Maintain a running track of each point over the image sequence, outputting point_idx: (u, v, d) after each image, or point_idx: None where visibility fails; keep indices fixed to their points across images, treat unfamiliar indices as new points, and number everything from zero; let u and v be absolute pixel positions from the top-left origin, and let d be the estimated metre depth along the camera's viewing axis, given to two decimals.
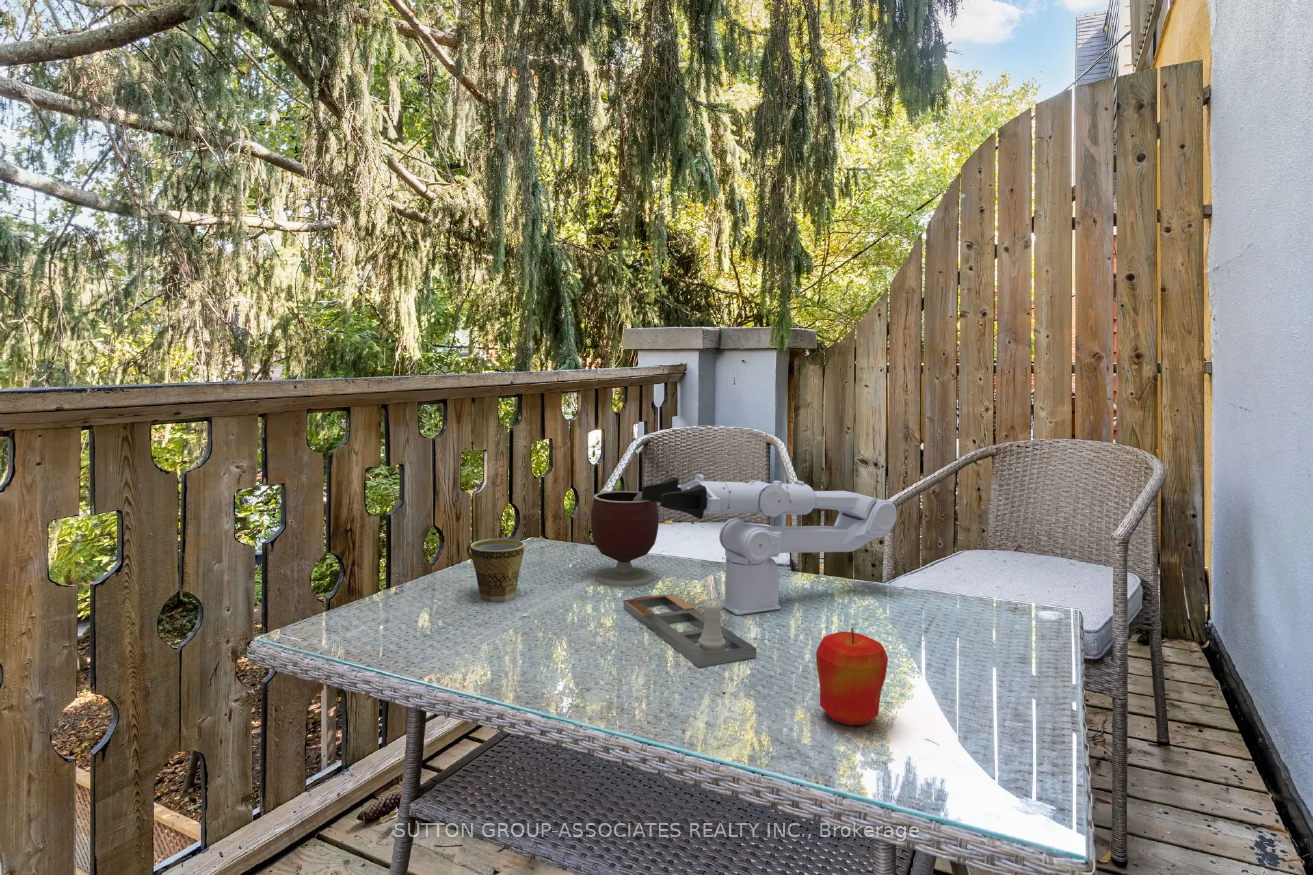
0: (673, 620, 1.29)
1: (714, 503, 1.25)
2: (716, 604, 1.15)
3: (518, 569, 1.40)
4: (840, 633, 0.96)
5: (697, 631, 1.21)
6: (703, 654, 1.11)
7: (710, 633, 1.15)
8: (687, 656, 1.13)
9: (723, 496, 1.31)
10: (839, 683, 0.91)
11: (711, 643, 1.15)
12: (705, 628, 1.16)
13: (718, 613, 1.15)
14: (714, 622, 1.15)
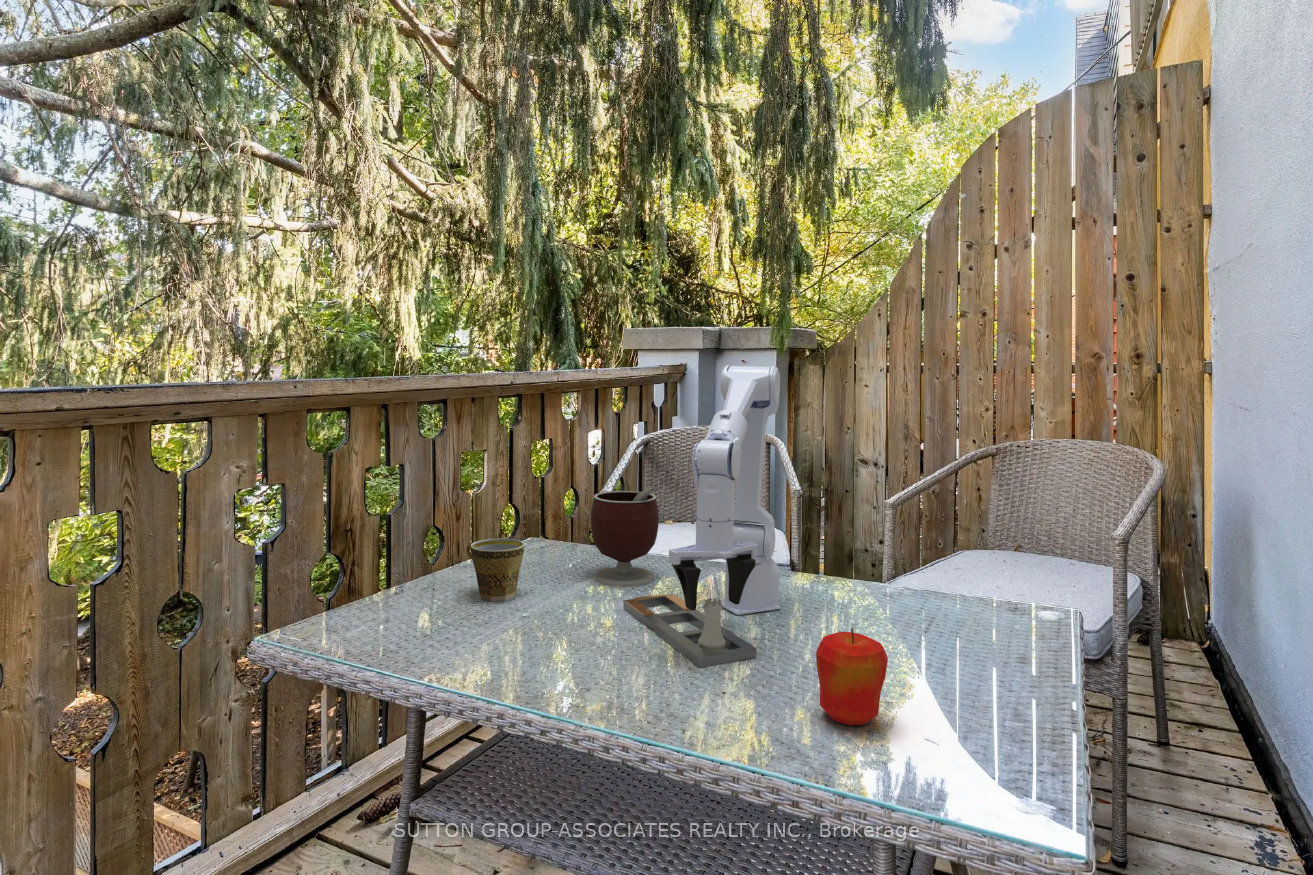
0: (673, 620, 1.29)
1: None
2: (716, 604, 1.15)
3: (518, 569, 1.40)
4: (840, 633, 0.96)
5: (697, 631, 1.21)
6: (703, 654, 1.11)
7: (710, 633, 1.15)
8: (687, 656, 1.13)
9: None
10: (839, 683, 0.91)
11: (711, 643, 1.15)
12: (705, 628, 1.16)
13: (718, 613, 1.15)
14: (714, 622, 1.15)
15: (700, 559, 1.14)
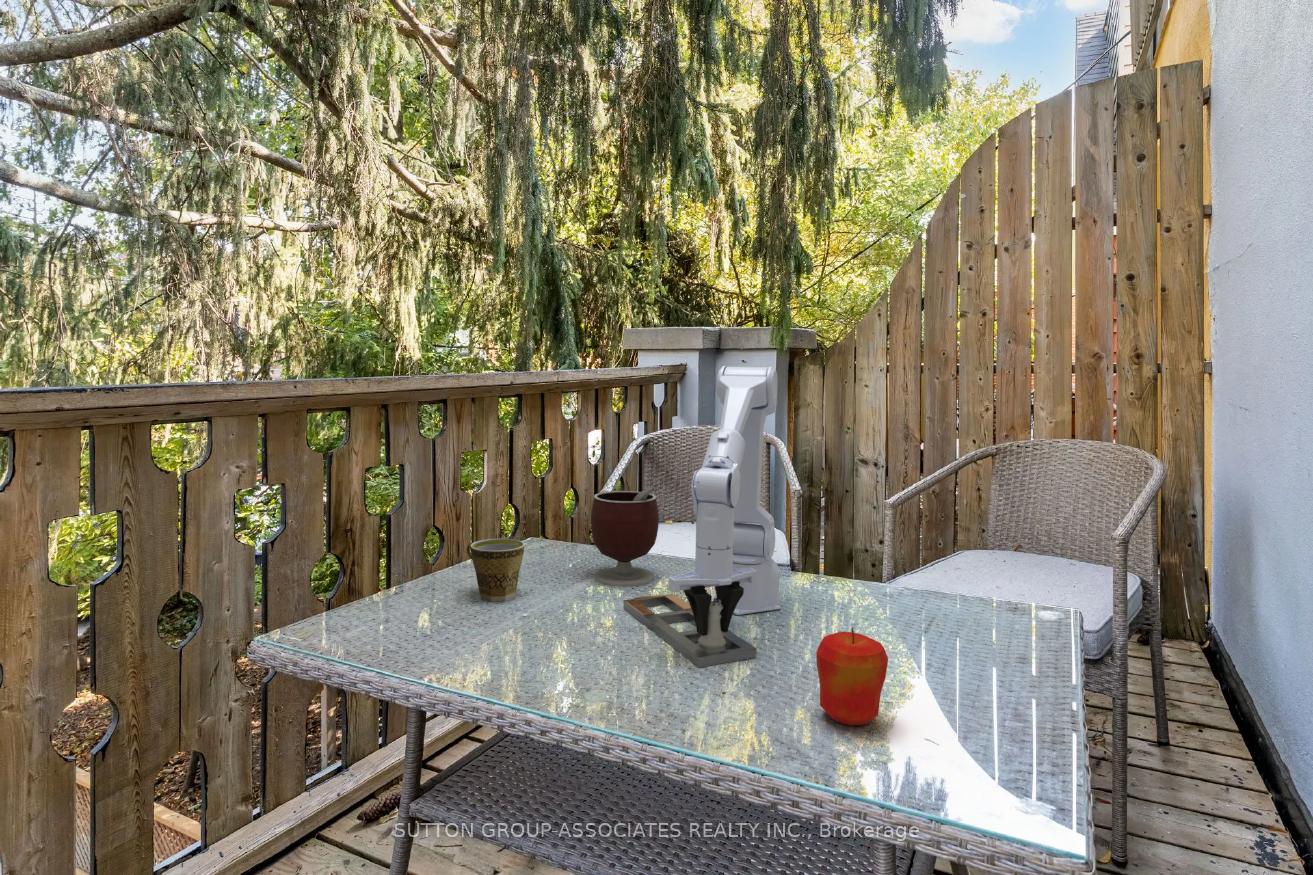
0: (673, 620, 1.29)
1: None
2: (716, 604, 1.15)
3: (518, 569, 1.40)
4: (840, 633, 0.96)
5: None
6: (703, 654, 1.11)
7: (710, 632, 1.15)
8: (687, 656, 1.13)
9: None
10: (839, 683, 0.91)
11: (711, 643, 1.15)
12: None
13: (718, 613, 1.15)
14: (714, 622, 1.15)
15: None
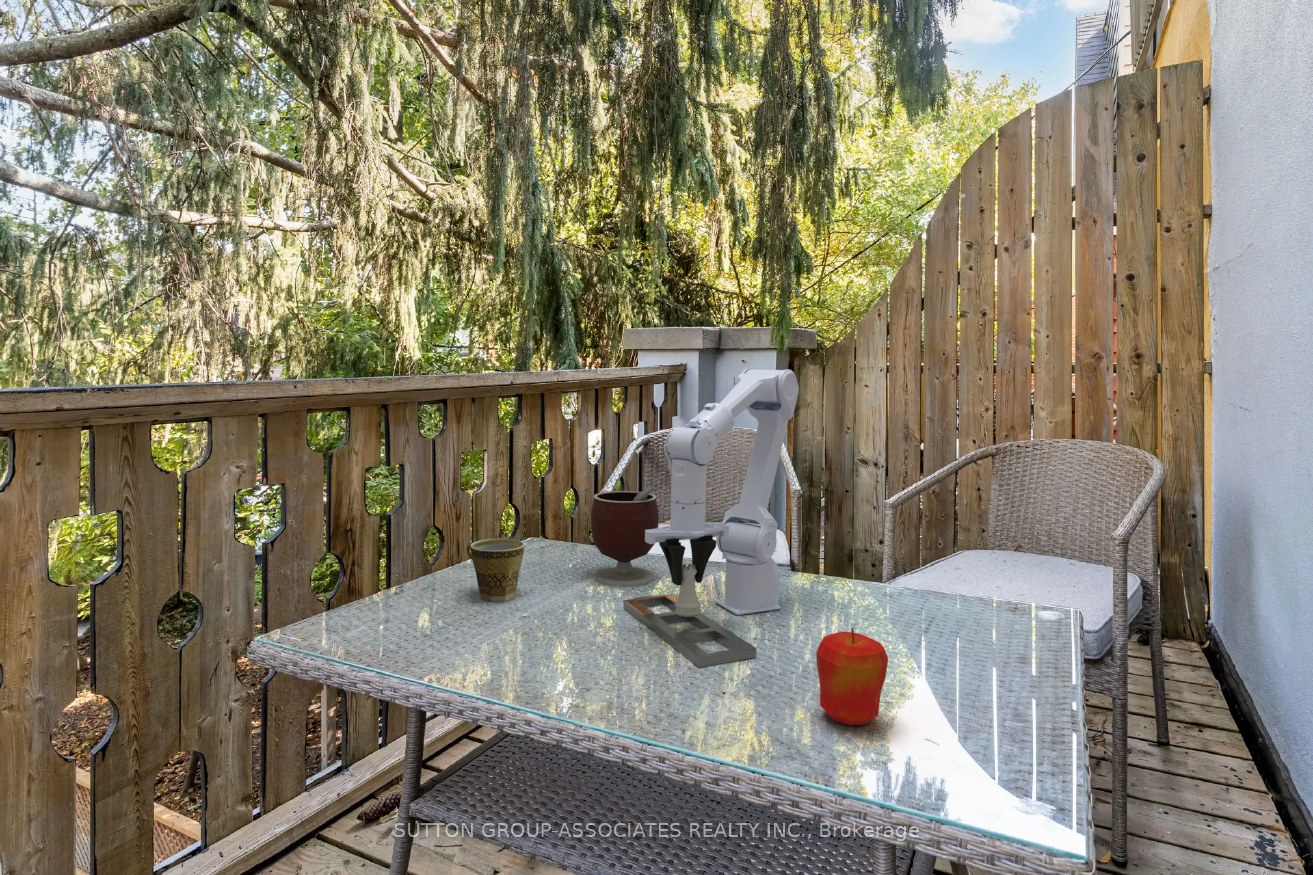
0: (673, 620, 1.29)
1: None
2: (690, 568, 1.22)
3: (518, 569, 1.40)
4: (840, 633, 0.95)
5: (697, 631, 1.21)
6: (703, 654, 1.11)
7: (685, 595, 1.22)
8: (687, 656, 1.13)
9: None
10: (839, 683, 0.91)
11: (687, 605, 1.22)
12: (681, 591, 1.23)
13: (692, 576, 1.23)
14: (689, 585, 1.23)
15: None
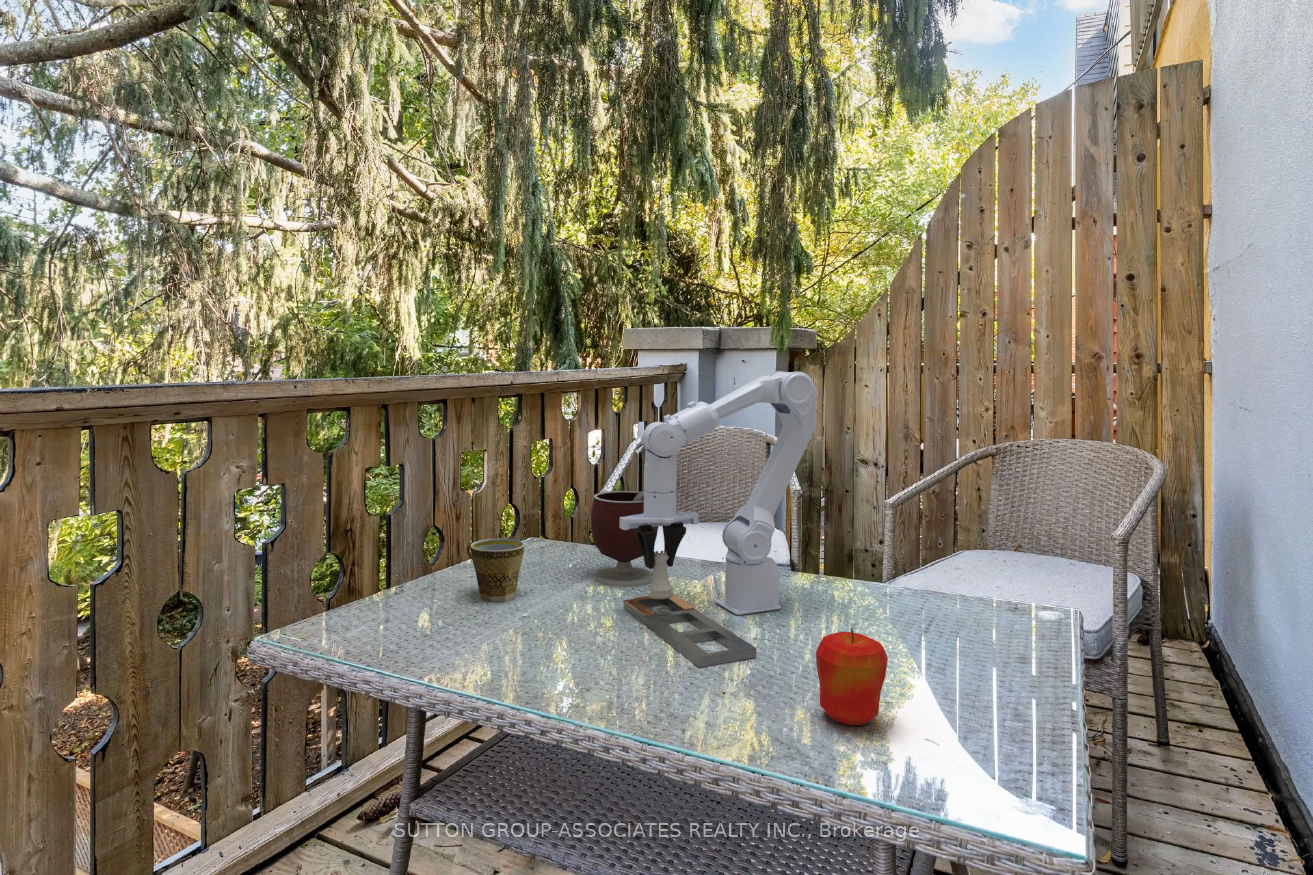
0: (673, 620, 1.29)
1: None
2: (662, 554, 1.32)
3: (518, 569, 1.40)
4: (840, 633, 0.96)
5: (697, 631, 1.21)
6: (703, 654, 1.11)
7: (658, 579, 1.32)
8: (687, 656, 1.13)
9: None
10: (839, 683, 0.91)
11: (659, 588, 1.31)
12: (654, 576, 1.32)
13: (664, 562, 1.32)
14: (661, 570, 1.32)
15: None
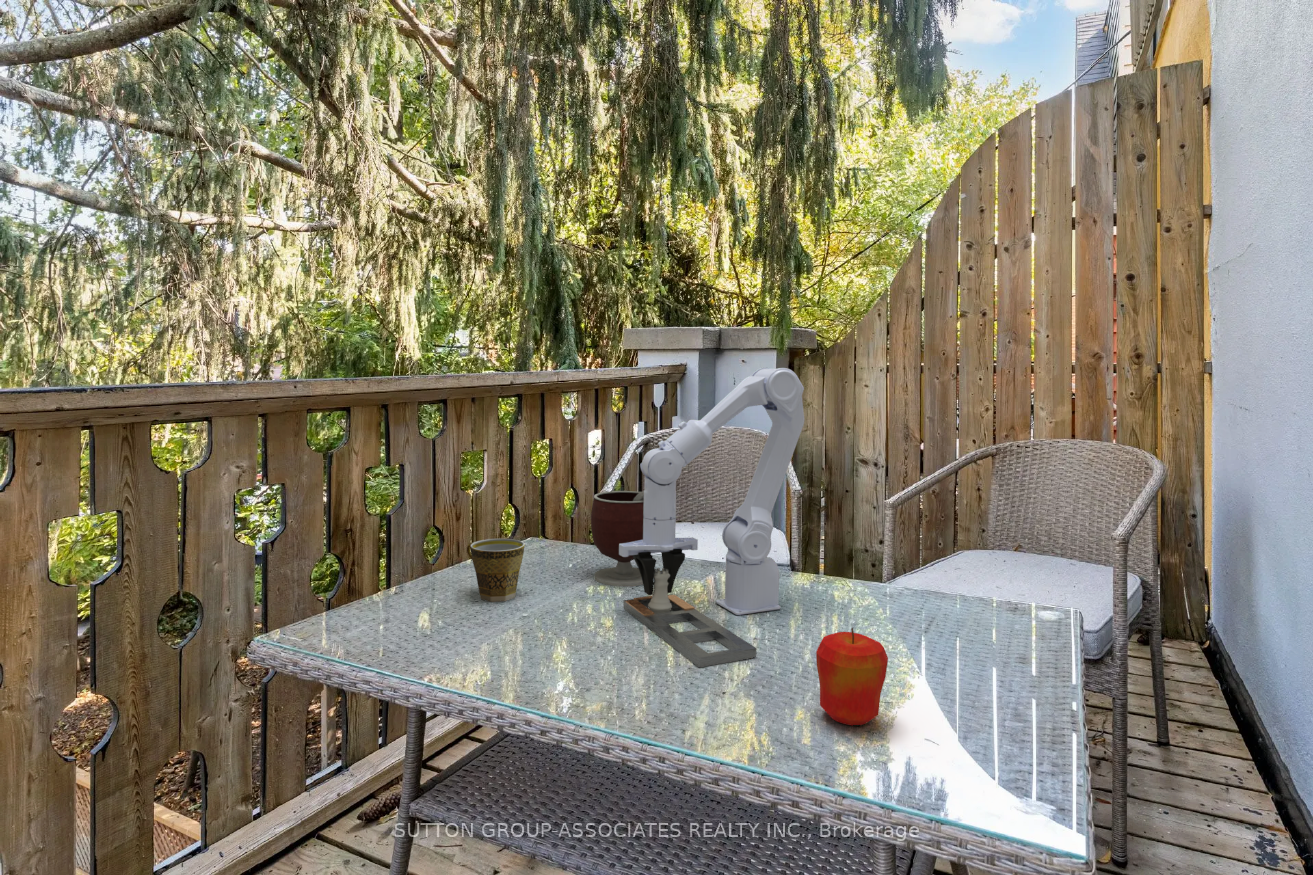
0: (673, 620, 1.29)
1: None
2: (663, 572, 1.31)
3: (518, 569, 1.40)
4: (840, 633, 0.95)
5: (697, 631, 1.21)
6: (703, 654, 1.11)
7: (658, 597, 1.32)
8: (687, 656, 1.13)
9: None
10: (839, 683, 0.91)
11: (659, 606, 1.31)
12: (654, 594, 1.32)
13: (665, 580, 1.32)
14: (661, 588, 1.32)
15: None
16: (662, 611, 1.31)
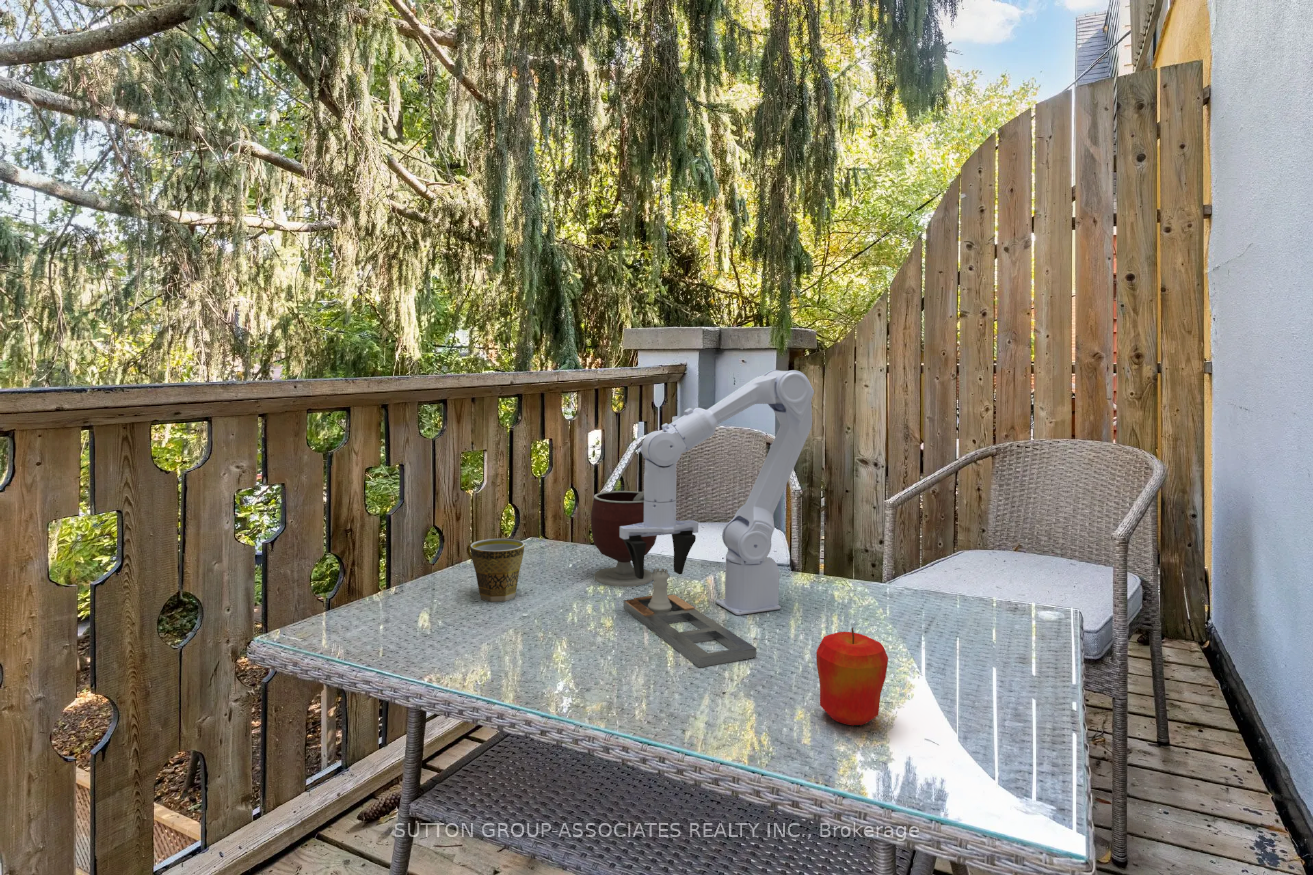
0: (673, 620, 1.29)
1: None
2: (663, 573, 1.31)
3: (518, 569, 1.40)
4: (840, 633, 0.95)
5: (697, 631, 1.21)
6: (703, 654, 1.11)
7: (657, 598, 1.32)
8: (687, 656, 1.13)
9: None
10: (839, 683, 0.91)
11: (659, 607, 1.31)
12: (653, 594, 1.32)
13: (665, 581, 1.32)
14: (661, 589, 1.32)
15: (647, 535, 1.32)
16: (662, 611, 1.31)
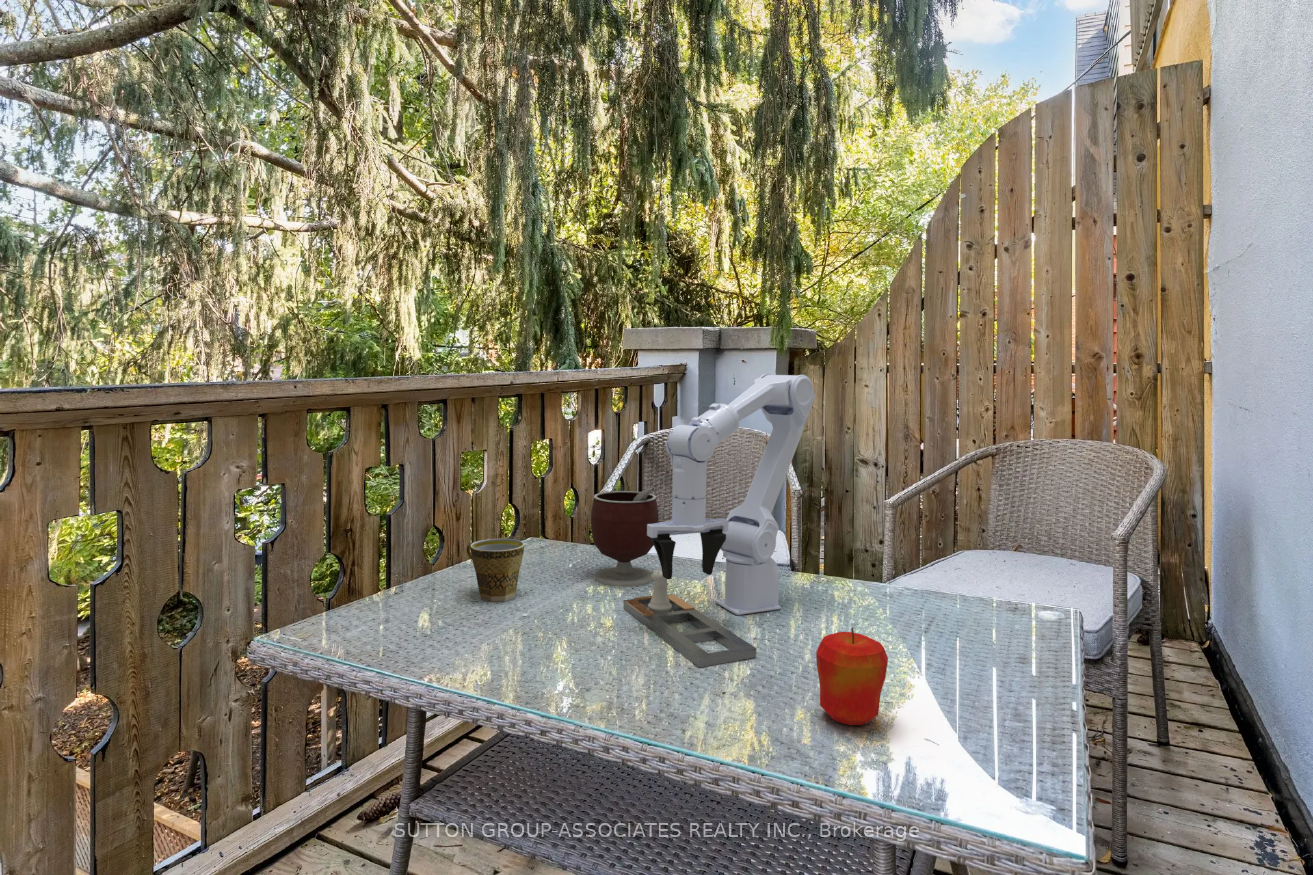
0: (673, 620, 1.29)
1: None
2: None
3: (518, 569, 1.40)
4: (840, 633, 0.96)
5: (697, 631, 1.21)
6: (703, 654, 1.11)
7: (657, 598, 1.32)
8: (687, 656, 1.13)
9: None
10: (839, 683, 0.91)
11: (659, 607, 1.31)
12: (653, 594, 1.32)
13: (665, 581, 1.32)
14: (661, 589, 1.32)
15: (675, 533, 1.26)
16: (662, 611, 1.31)
